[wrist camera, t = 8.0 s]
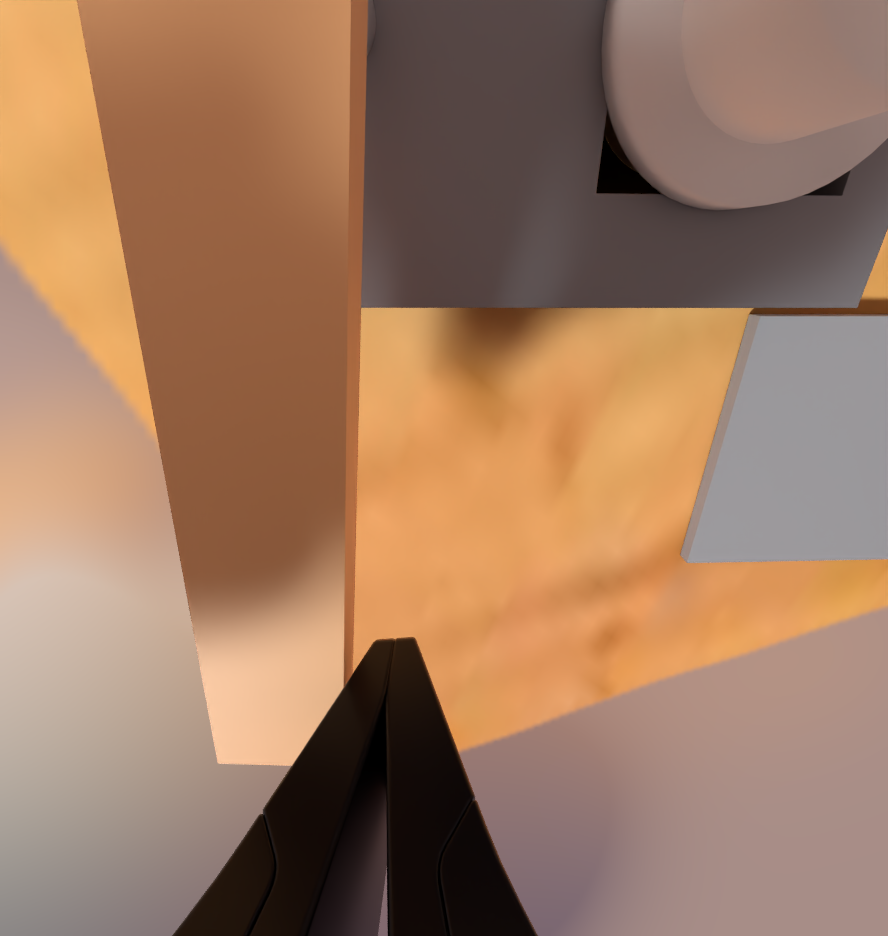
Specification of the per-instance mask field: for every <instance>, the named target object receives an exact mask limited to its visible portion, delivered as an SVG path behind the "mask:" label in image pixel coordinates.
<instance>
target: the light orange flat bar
mask: <svg viewBox="0 0 888 936" xmlns="http://www.w3.org/2000/svg"><path fill="white" fill-rule="evenodd" d="M77 3H78V9H79V14H80V20H81V25H82V30H83V36H84V41H85V47H86V52H87V57H88V63H89V68H90V74H91V79H92V85H93V90H94V95H95V101H96V106H97V112H98V117H99V122H100V128H101V133H102V139H103V144H104V150H105V155H106V160H107V166H108V171H109V177H110V182H111V187H112V193H113V198H114V204H115V209H116V214H117V220H118V225H119V231H120V236H121V242H122V247H123V252H124V258H125V263H126V269H127V274H128V279H129V285H130V290H131V296H132V301H133V307H134V312H135V317H136V323H137V328H138V334H139V339H140V344H141V350H142V355H143V361H144V366H145V372H146V377H147V382H148V388H149V393H150V399H151V404H152V409H153V415H154V420H155V426H156V431H157V437H158V442H159V447H160V453H161V458H162V464H163V469H164V474H165V480H166V485H167V491H168V496H169V502H170V506H171V512H172V518H173V523H174V528H175V533H176V539H177V545H178V550H179V556H180V561H181V567H182V572H183V577H184V582H185V588H186V593H187V598H188V604H189V609H190V615H191V621H192V626H193V631H194V636H195V642H196V648H197V653H198V658H199V664H200V669H201V675H202V680H203V685H204V691H205V696H206V702H207V707H208V713H209V718H210V724H211V729H212V734H213V739H214V745H215V751H216V756H217V761H218V764H254V765H290V766H291V765H293V763H294V762H295V760H296V759H297V757H298V756H299V754H300V753H301V751H302V750H303V748H304V747H305V745H306V744H307V742H308V741H309V739H310V738H311V736H312V735H313V733H314V732H315V730H316V729H317V727H318V725H319V724H320V722H321V721H322V719H323V718H324V716H325V715H326V713H327V712H328V710H329V709H330V707H331V706H332V704H333V703H334V701H335V700H336V698H337V697H338V695H339V694H340V692H341V691H342V689H343V688H344V686H345V685H346V683H347V682H348V680H349V679H350V677H351V676H352V674H353V635H354V592H355V548H356V504H357V461H358V417H359V373H360V330H361V286H362V242H363V199H364V155H365V111H366V68H367V24H368V0H77Z"/></svg>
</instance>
